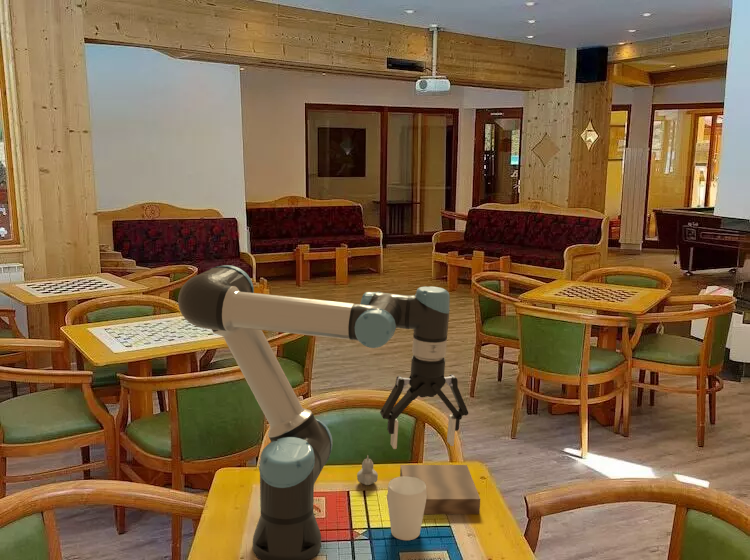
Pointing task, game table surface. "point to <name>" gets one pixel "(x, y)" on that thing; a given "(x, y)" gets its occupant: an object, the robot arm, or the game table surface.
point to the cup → (406, 506)
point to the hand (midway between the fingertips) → (422, 444)
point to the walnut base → (446, 488)
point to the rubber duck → (367, 473)
